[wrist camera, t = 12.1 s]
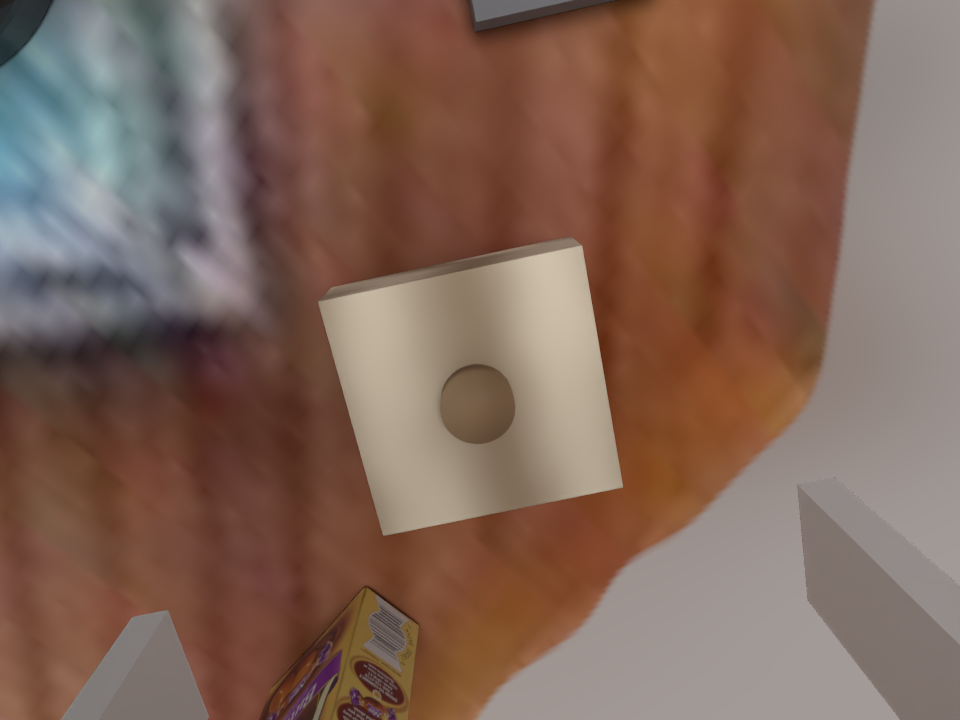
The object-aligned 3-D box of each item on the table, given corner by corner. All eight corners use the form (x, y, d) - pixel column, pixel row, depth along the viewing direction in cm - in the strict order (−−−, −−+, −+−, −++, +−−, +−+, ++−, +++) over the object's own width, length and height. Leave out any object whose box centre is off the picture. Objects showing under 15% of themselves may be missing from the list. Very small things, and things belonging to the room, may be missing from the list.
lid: (390, 501, 32) (380, 551, 28) (331, 287, 30) (311, 308, 26) (608, 457, 32) (629, 500, 28) (570, 236, 29) (587, 249, 25)
